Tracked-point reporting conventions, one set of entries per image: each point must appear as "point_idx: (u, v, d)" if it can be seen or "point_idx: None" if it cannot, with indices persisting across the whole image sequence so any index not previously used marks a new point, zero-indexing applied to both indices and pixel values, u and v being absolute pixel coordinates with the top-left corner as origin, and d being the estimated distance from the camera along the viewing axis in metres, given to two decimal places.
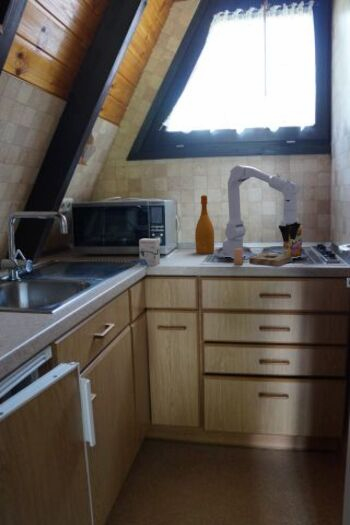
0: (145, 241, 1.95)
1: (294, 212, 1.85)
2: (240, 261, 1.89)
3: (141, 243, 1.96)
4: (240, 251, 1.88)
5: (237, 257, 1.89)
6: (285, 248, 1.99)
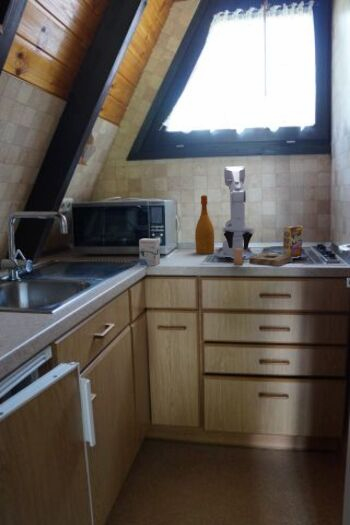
0: (145, 241, 1.95)
1: (232, 220, 1.87)
2: (240, 261, 1.89)
3: (141, 243, 1.96)
4: (240, 251, 1.88)
5: (237, 257, 1.89)
6: (285, 248, 1.99)
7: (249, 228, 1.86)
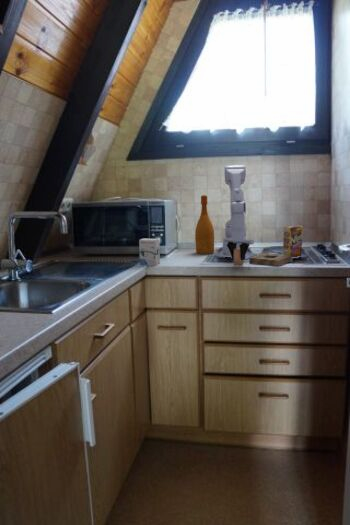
0: (145, 241, 1.95)
1: (232, 231, 1.88)
2: (240, 261, 1.89)
3: (141, 243, 1.96)
4: None
5: (237, 256, 1.89)
6: (285, 248, 1.99)
7: (249, 239, 1.87)
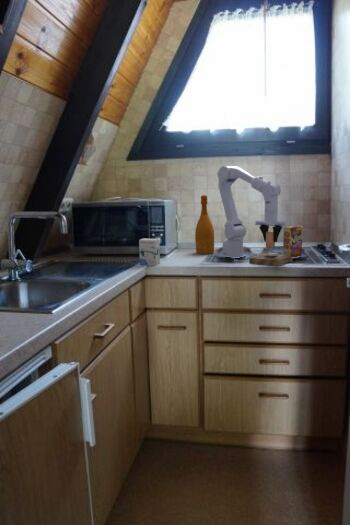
0: (145, 241, 1.95)
1: (265, 214, 1.89)
2: (271, 244, 1.91)
3: (141, 243, 1.96)
4: (272, 234, 1.90)
5: (268, 239, 1.91)
6: (285, 248, 1.99)
7: None
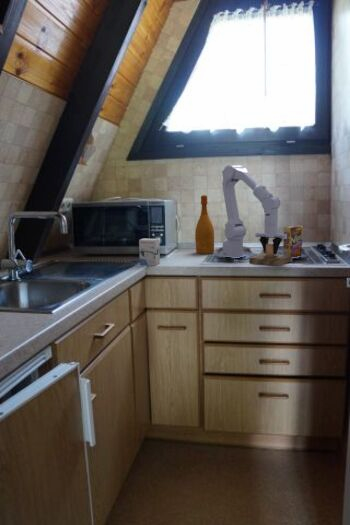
0: (145, 241, 1.95)
1: (265, 226, 1.90)
2: (271, 256, 1.92)
3: (141, 243, 1.96)
4: (272, 246, 1.91)
5: (268, 251, 1.92)
6: (285, 248, 1.99)
7: (282, 234, 1.90)
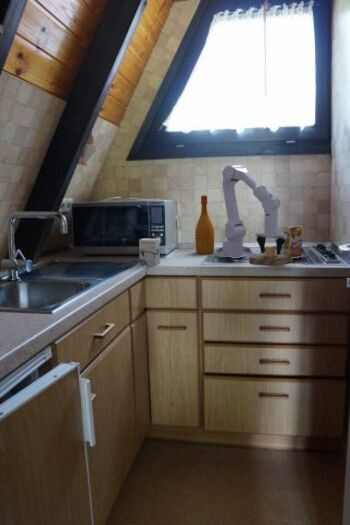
0: (145, 241, 1.95)
1: (265, 226, 1.90)
2: None
3: (141, 243, 1.96)
4: (272, 249, 1.91)
5: (268, 254, 1.92)
6: (285, 248, 1.99)
7: (282, 234, 1.90)
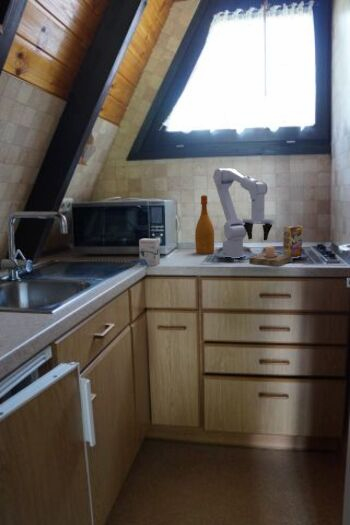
0: (145, 241, 1.95)
1: (252, 212, 1.90)
2: None
3: (141, 243, 1.96)
4: (272, 249, 1.91)
5: (268, 254, 1.92)
6: (285, 248, 1.99)
7: None
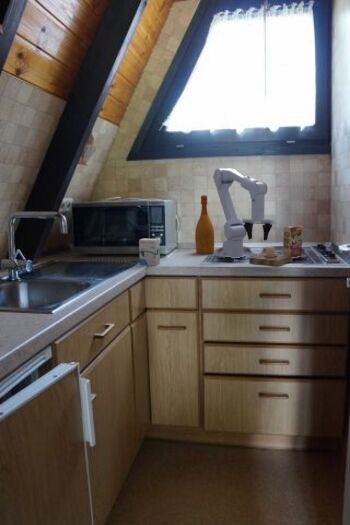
0: (145, 241, 1.95)
1: (252, 212, 1.90)
2: None
3: (141, 243, 1.96)
4: (272, 249, 1.91)
5: (268, 254, 1.92)
6: (285, 248, 1.99)
7: None
